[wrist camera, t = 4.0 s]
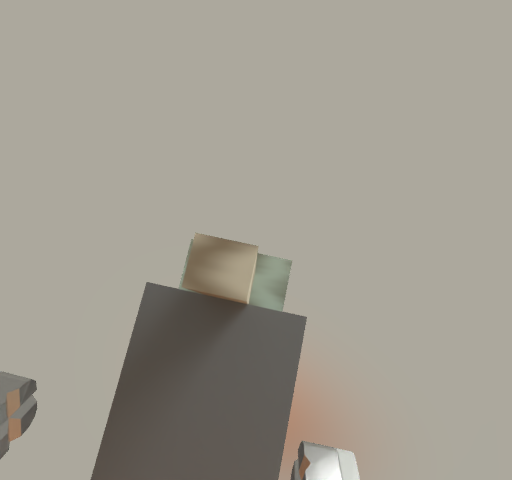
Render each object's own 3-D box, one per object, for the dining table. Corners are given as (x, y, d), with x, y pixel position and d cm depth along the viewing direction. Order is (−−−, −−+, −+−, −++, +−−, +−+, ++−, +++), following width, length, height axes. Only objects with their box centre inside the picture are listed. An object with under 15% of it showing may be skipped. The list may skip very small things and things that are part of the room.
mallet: (121, 274, 17) (147, 186, 18) (189, 292, 37) (200, 250, 38) (307, 314, 17) (323, 223, 18) (277, 311, 37) (285, 268, 38)
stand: (32, 684, 21) (146, 282, 26) (111, 549, 33) (178, 290, 38) (232, 735, 20) (306, 317, 26) (239, 580, 32) (289, 314, 38)
